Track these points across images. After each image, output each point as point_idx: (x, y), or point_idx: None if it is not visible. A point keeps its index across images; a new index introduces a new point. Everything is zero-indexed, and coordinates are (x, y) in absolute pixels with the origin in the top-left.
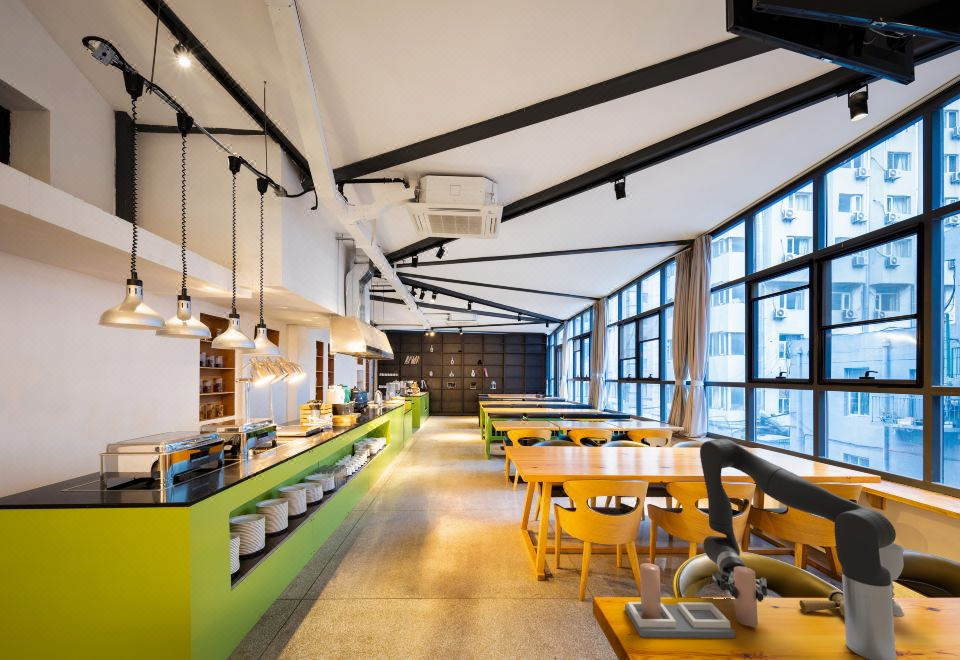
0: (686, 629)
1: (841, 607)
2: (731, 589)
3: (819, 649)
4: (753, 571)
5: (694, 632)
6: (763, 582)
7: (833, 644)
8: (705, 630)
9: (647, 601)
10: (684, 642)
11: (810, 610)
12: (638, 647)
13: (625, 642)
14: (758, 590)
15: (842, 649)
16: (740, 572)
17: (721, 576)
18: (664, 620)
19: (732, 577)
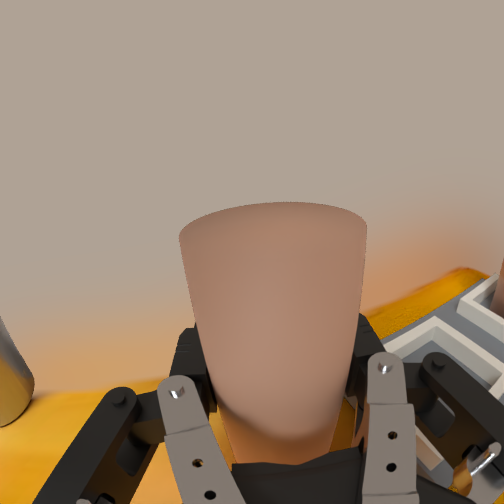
0: (437, 315)
1: None
2: (361, 318)
3: (97, 394)
4: (192, 230)
5: (420, 319)
6: (90, 449)
7: (47, 416)
8: (403, 332)
9: None
10: (424, 309)
11: None
12: (463, 272)
13: (480, 273)
14: (198, 336)
15: (45, 400)
16: (306, 205)
17: (473, 485)
18: (475, 291)
19: (385, 416)
